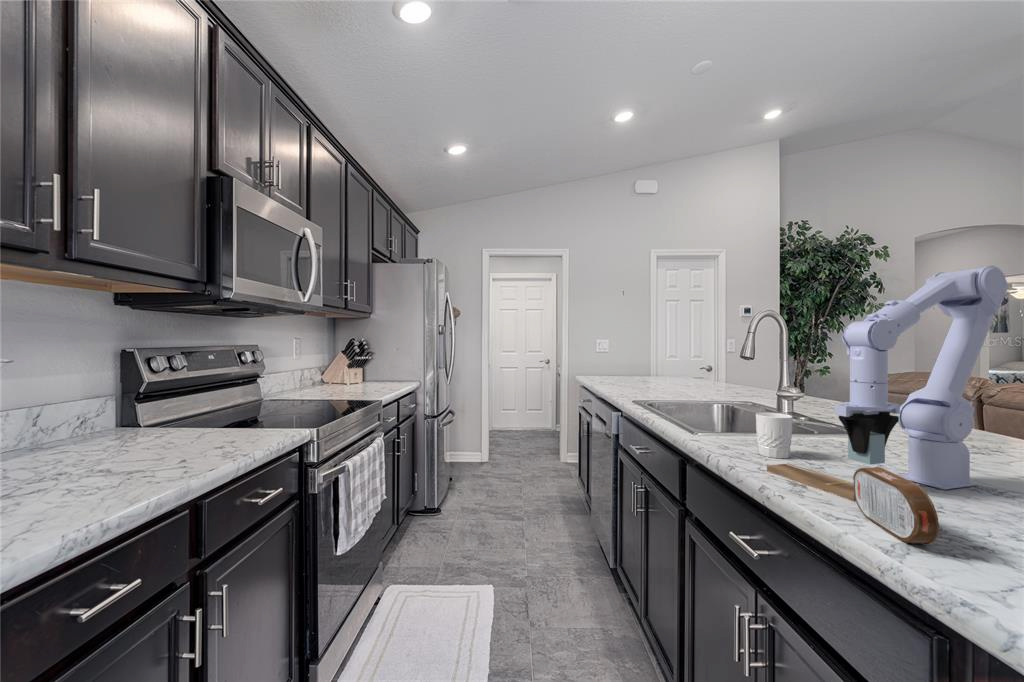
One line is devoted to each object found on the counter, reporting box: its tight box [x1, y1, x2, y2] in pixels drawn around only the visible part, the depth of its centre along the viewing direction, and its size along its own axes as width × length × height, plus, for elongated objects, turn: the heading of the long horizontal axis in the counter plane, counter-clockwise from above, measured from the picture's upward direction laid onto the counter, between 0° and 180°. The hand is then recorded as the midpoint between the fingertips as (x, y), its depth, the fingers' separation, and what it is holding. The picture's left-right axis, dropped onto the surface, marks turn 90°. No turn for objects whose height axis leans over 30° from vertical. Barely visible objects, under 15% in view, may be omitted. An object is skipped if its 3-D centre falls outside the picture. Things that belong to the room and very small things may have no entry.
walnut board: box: [766, 463, 856, 502], centre depth 85 cm, size 6×18×1 cm, turn 16°
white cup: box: [755, 412, 794, 459], centre depth 106 cm, size 8×8×10 cm
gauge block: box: [847, 432, 886, 466], centre depth 84 cm, size 4×4×6 cm
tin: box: [852, 466, 940, 545], centre depth 64 cm, size 15×3×8 cm, turn 168°
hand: (868, 451), depth 83 cm, fingers closed on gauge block, 4 cm apart
